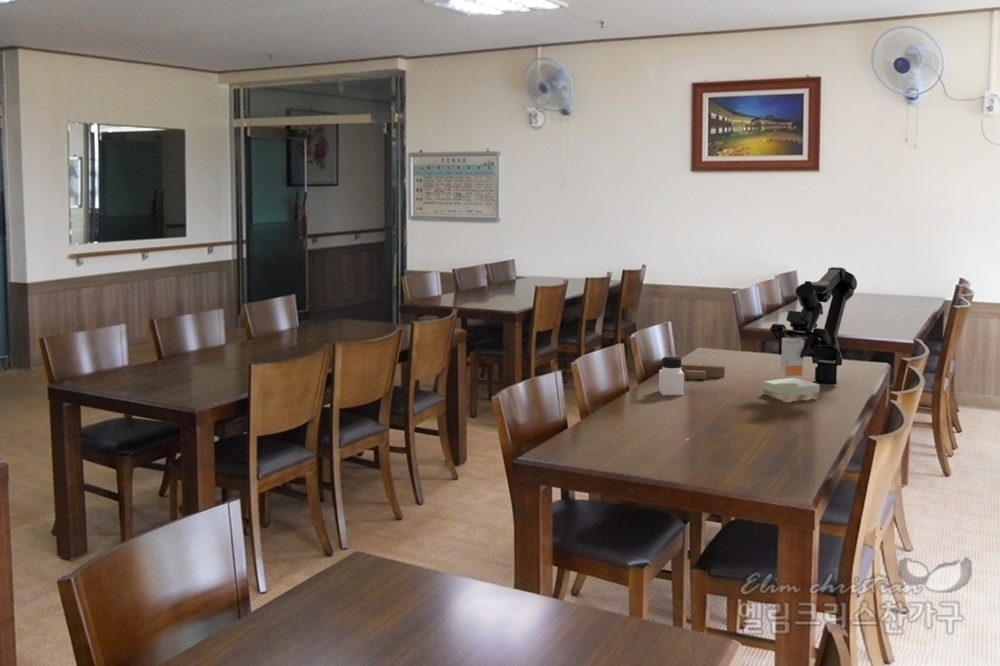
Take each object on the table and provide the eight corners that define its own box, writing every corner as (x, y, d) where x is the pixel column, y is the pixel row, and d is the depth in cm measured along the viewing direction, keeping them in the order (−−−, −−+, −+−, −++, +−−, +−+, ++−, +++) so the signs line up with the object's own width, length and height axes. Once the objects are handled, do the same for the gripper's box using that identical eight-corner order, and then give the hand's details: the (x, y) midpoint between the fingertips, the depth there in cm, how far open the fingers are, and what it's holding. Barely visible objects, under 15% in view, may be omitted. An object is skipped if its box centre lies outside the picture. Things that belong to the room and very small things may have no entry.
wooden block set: (673, 359, 335) (724, 361, 330) (672, 375, 336) (724, 377, 331) (667, 368, 319) (721, 370, 314) (667, 384, 320) (721, 387, 315)
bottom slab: (795, 393, 305) (795, 385, 305) (818, 400, 294) (819, 392, 294) (763, 396, 301) (763, 388, 301) (786, 404, 290) (786, 396, 290)
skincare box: (783, 377, 295) (784, 340, 293) (780, 374, 299) (781, 337, 297) (803, 377, 295) (804, 339, 293) (799, 374, 299) (800, 337, 297)
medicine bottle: (684, 395, 302) (685, 358, 300) (662, 395, 302) (662, 358, 300) (680, 390, 309) (681, 354, 307) (658, 390, 309) (659, 354, 307)
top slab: (793, 385, 305) (793, 377, 305) (819, 392, 294) (819, 384, 294) (763, 388, 301) (763, 381, 300) (788, 396, 290) (788, 388, 289)
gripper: (773, 298, 302) (754, 337, 297) (828, 303, 289) (809, 343, 283) (785, 319, 309) (766, 357, 303) (839, 325, 296) (821, 365, 290)
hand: (790, 355), depth 295 cm, fingers closed on skincare box, 7 cm apart
